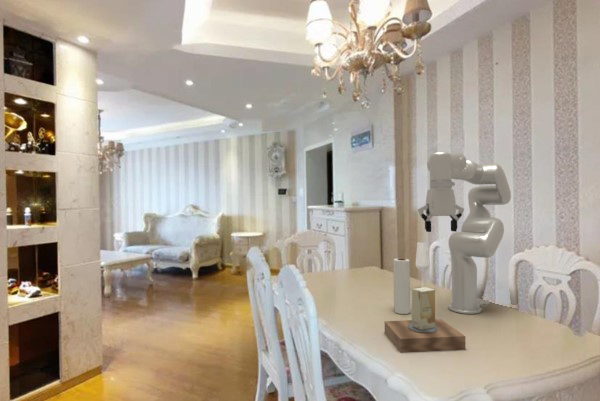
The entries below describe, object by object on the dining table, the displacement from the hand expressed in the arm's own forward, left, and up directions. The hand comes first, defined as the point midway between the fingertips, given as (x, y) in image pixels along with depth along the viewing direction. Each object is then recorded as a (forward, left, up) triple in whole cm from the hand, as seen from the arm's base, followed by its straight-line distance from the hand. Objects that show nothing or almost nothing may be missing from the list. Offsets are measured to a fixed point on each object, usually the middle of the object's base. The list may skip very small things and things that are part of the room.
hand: (441, 231), depth 138 cm
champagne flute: (-10, -42, -34) cm, 55 cm away
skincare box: (+15, +18, -29) cm, 37 cm away
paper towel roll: (+11, -12, -34) cm, 37 cm away
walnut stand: (+15, +18, -33) cm, 41 cm away
